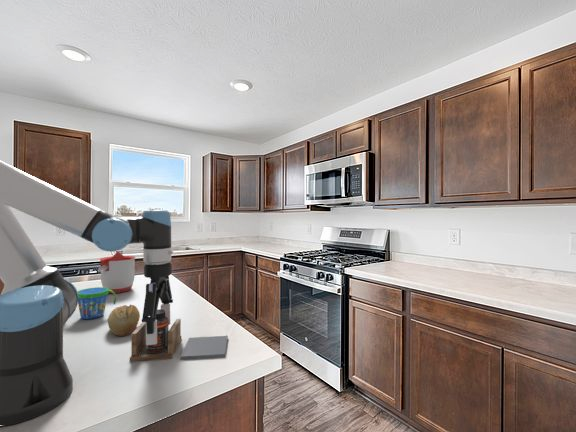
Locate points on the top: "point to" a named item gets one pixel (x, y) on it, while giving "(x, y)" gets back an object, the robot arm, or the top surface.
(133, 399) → the top surface
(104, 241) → the robot arm
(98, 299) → the snack cup
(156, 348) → the supplement bottle
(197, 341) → the coaster
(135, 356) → the rack
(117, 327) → the bread roll
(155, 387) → the top surface
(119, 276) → the citrus juicer
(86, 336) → the top surface
